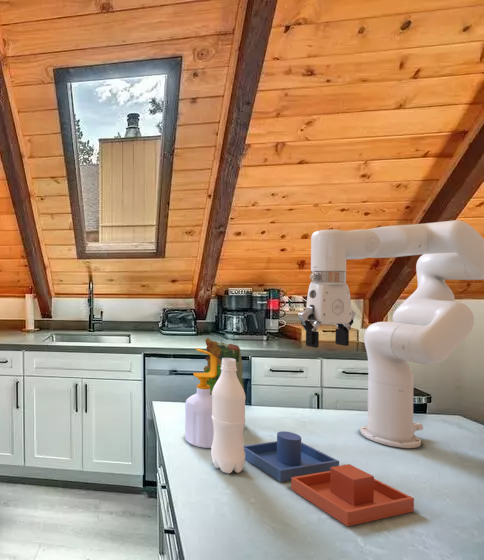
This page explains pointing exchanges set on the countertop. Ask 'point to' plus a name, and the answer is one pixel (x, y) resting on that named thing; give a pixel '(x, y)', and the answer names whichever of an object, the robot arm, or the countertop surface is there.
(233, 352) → the pouch
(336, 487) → the block
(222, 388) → the water bottle
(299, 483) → the terracotta tray
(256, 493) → the countertop surface
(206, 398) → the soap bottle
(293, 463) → the blue cylinder
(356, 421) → the countertop surface
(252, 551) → the countertop surface
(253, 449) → the blue tray
